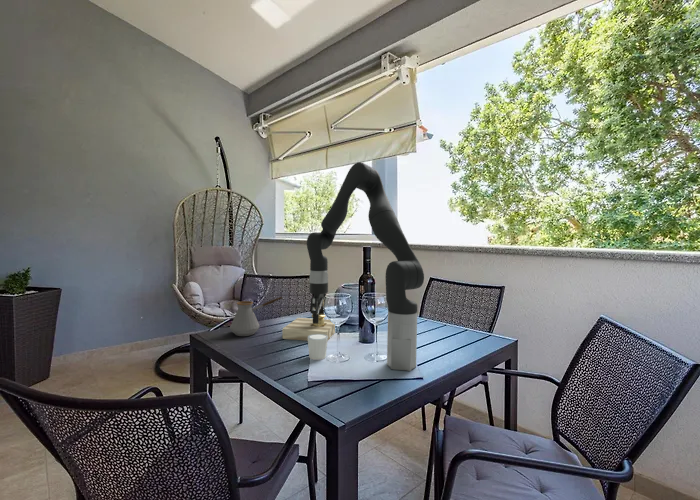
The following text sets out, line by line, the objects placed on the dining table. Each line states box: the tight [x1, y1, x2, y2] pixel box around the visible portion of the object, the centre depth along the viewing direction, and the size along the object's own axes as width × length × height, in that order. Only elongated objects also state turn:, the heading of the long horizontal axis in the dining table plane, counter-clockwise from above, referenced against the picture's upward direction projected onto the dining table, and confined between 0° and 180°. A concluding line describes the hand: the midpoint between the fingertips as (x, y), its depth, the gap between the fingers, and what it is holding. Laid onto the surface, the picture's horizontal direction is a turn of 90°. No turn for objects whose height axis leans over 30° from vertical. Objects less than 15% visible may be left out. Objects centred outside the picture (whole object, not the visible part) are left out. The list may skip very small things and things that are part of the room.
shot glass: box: [307, 334, 329, 361], centre depth 117 cm, size 7×7×7 cm
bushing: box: [311, 313, 327, 327], centre depth 143 cm, size 6×6×8 cm
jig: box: [282, 317, 336, 342], centre depth 144 cm, size 18×18×4 cm
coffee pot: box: [229, 296, 284, 337], centre depth 144 cm, size 21×12×15 cm, turn 100°
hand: (318, 320), depth 143 cm, fingers open, 8 cm apart
